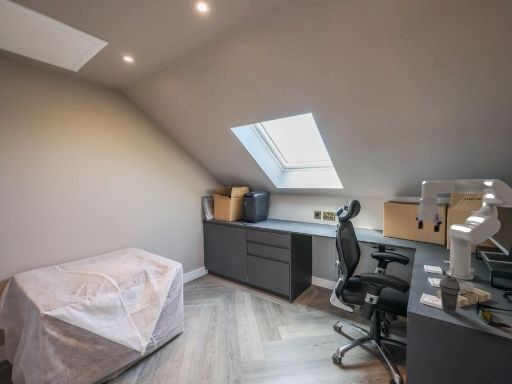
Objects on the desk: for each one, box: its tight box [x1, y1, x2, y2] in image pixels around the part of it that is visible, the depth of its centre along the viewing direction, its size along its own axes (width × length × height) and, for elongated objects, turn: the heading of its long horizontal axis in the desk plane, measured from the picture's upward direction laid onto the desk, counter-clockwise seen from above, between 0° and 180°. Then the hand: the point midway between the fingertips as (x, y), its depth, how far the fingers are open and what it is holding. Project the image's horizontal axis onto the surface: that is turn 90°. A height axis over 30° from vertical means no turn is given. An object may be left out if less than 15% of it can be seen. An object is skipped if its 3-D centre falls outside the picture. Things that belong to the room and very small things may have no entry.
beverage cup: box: [438, 268, 460, 315], centre depth 106 cm, size 7×7×20 cm
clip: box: [458, 281, 475, 296], centre depth 118 cm, size 10×3×7 cm, turn 107°
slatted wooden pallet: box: [436, 287, 492, 308], centre depth 118 cm, size 22×10×3 cm, turn 107°
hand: (428, 230), depth 143 cm, fingers open, 9 cm apart
